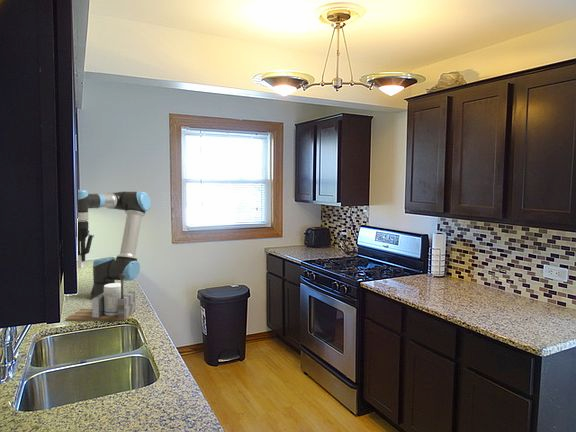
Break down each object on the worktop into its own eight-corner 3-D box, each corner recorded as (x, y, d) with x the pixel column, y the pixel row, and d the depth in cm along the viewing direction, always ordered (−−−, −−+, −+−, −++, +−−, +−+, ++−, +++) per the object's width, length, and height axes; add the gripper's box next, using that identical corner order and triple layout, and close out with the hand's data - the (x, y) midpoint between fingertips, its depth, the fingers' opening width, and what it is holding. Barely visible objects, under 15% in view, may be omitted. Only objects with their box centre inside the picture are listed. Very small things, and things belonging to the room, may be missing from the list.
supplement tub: (107, 311, 212) (107, 282, 211) (126, 310, 213) (126, 282, 212) (101, 316, 202) (100, 287, 201) (121, 316, 203) (120, 286, 202)
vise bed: (81, 311, 215) (80, 267, 214) (135, 311, 216) (134, 268, 215) (65, 320, 199) (64, 274, 198) (124, 320, 200) (123, 274, 199)
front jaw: (104, 308, 215) (104, 291, 214) (110, 308, 215) (110, 291, 214) (92, 317, 200) (92, 299, 199) (98, 317, 200) (98, 299, 199)
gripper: (62, 221, 200) (63, 269, 202) (89, 221, 201) (90, 269, 202) (70, 220, 208) (71, 266, 209) (96, 220, 208) (97, 266, 210)
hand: (80, 267), depth 206 cm, fingers closed
